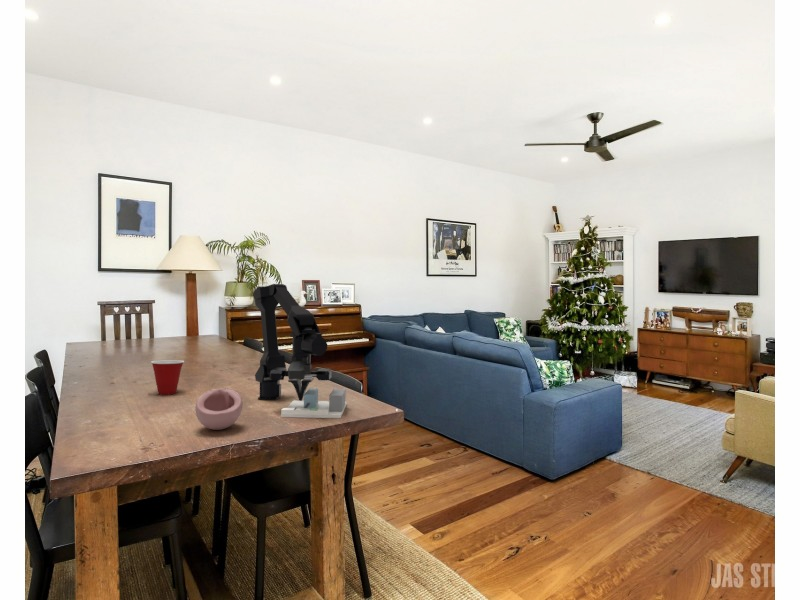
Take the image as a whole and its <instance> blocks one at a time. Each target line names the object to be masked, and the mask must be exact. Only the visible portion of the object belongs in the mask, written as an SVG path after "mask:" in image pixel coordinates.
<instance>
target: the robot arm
mask: <svg viewBox="0 0 800 600" xmlns="http://www.w3.org/2000/svg"><path fill="white" fill-rule="evenodd" d="M252 295H253V299H254V304H255V306H256V308H257V309H258V310H259V312H260V317H261V318H260V319H261V330H262V331H261V333H262V345H263V354H262V356H261V359H260V360H259V367H258V369H257V371H256V372H255V374H254V376H255V382H258V383H259V397H257V400H269V401H270V400H271V401H273V400H275V401H276V400H278V399H279V398H280V397H281V396H282V384H281V383H280V381H284V380H285V377H288V380H287V381H288V383H291V384H292V385H293V387H294V389H295V391H296V396H297V398H298V401H303V400H304V394H305V393H306V392H307V389H308V386H309V384H310V383H312V382H313V380H315V378H316V379H317V380H318V381H330V379H332V369H331V368H318V369H317V370H313V366H312V363H311V359H312V358H311V356H317V357H320V356H323V355H325V354H326V352H327V350H328V343H327V341H326V339H325V338H324V337H323V334H322V333H321V331H320V328H319V326H318V324H317V320H316V318H315V315H314V314H313V313H311V312H310V311H309V309H306V308H304V307H302V306H301V305H299V303H298V301H296V299H295V298H294V297H293V295H292V294H291V292H289V290H288V288H287V285H286V284H284V283H272V284H270V285H269V284H268V285H265V286H262V285H261V286H257V287H256V288H255V289H254V290H253V293H252ZM278 305H279V306H280V307H281V308H282V310H283V311H284V313H285V314H286V316H287V321H286V322H287V324H288V326H289V328H290V330H291V331H292V332H291V333H290V334H289V337H290V338H292V355H291V361H290V363H289V367H288V368H287V366H286V357H285V354H281V352H280V351H279V342H278V341H279V340H278V331H277V318H276V309H277V307H278Z"/></svg>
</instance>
